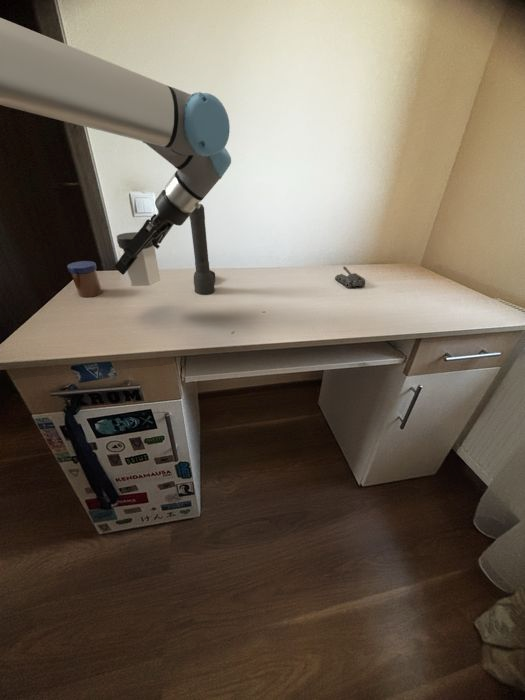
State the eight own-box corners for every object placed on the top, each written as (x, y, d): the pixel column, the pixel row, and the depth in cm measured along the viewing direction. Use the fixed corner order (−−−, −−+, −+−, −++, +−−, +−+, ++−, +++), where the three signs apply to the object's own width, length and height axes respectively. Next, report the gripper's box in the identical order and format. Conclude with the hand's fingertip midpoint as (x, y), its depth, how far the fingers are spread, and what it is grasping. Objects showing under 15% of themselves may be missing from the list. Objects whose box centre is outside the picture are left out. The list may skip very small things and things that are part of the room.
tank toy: (331, 279, 118) (334, 266, 115) (351, 277, 120) (354, 265, 117) (346, 289, 108) (349, 276, 105) (367, 288, 110) (371, 275, 108)
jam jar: (80, 299, 92) (70, 270, 87) (77, 292, 97) (67, 264, 92) (104, 294, 96) (96, 267, 91) (99, 288, 101) (92, 261, 96)
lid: (70, 275, 87) (68, 269, 87) (67, 268, 93) (65, 263, 92) (99, 271, 92) (97, 265, 91) (94, 264, 97) (92, 259, 96)
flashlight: (192, 293, 100) (211, 295, 99) (180, 206, 82) (203, 208, 82) (199, 285, 105) (217, 287, 104) (189, 201, 88) (210, 203, 87)
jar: (142, 274, 82) (133, 230, 76) (165, 278, 80) (158, 233, 74) (119, 284, 75) (107, 236, 69) (144, 288, 73) (134, 240, 67)
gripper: (172, 222, 58) (118, 289, 68) (203, 208, 76) (157, 264, 86) (142, 191, 55) (91, 266, 66) (182, 185, 73) (137, 245, 83)
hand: (128, 265), depth 76 cm, fingers closed on jar, 9 cm apart
